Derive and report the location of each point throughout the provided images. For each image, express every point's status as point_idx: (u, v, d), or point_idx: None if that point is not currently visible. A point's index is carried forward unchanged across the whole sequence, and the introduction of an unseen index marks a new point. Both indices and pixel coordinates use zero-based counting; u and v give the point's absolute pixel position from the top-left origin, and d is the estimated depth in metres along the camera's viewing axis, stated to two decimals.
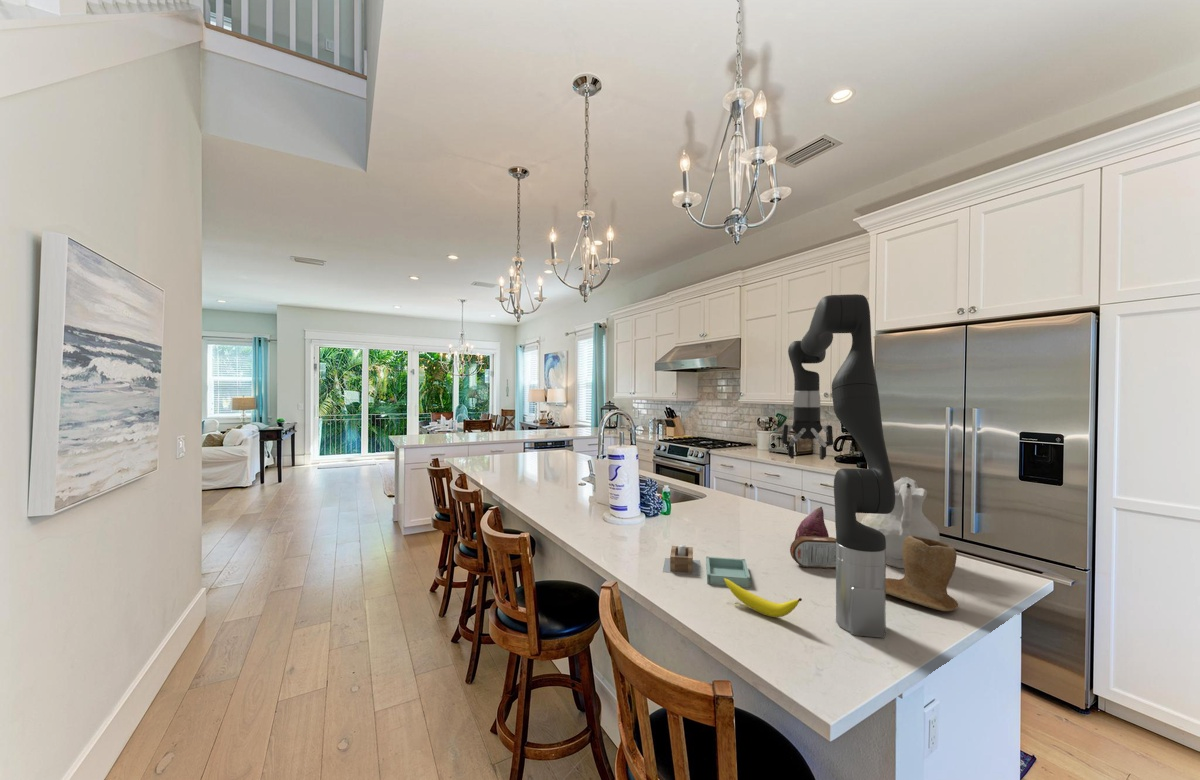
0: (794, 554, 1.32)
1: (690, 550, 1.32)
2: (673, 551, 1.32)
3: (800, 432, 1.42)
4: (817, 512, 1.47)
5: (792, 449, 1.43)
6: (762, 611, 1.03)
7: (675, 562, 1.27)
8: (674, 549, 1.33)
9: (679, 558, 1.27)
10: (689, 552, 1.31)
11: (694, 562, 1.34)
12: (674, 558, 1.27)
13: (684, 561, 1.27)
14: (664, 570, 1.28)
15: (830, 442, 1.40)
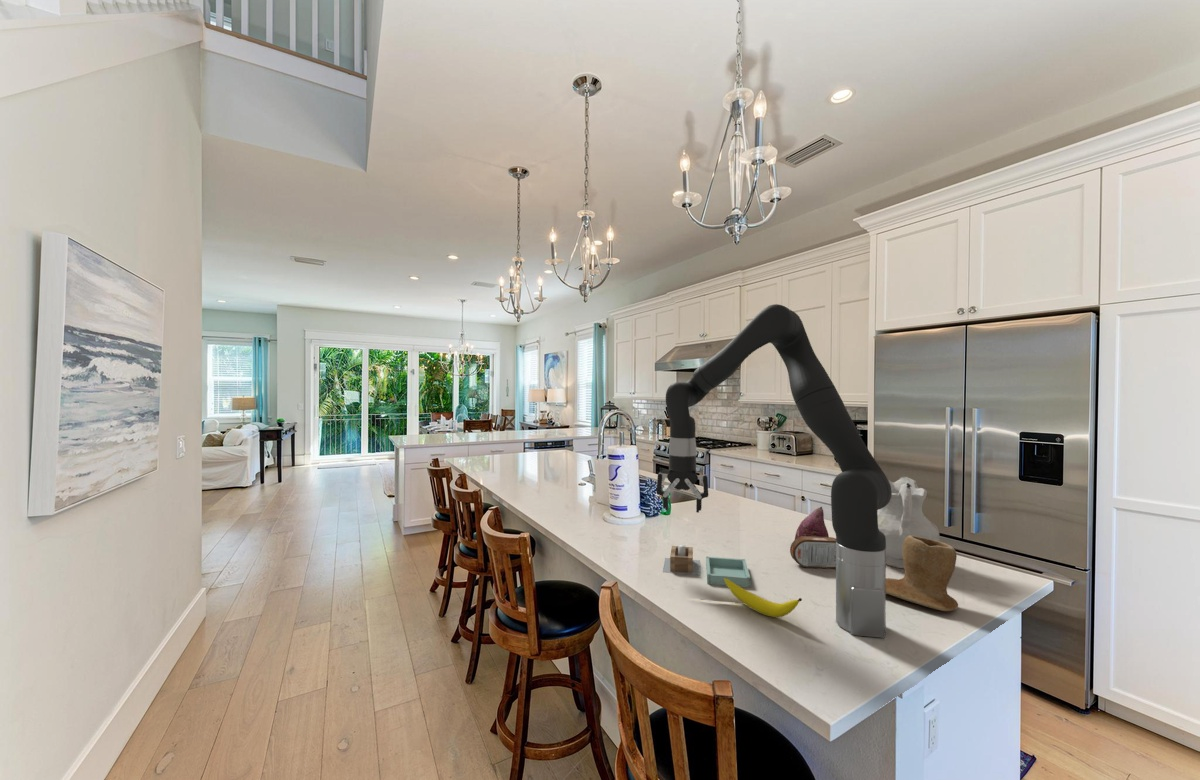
0: (794, 554, 1.32)
1: (690, 550, 1.32)
2: (673, 551, 1.32)
3: (674, 482, 1.30)
4: (817, 512, 1.47)
5: (666, 500, 1.31)
6: (762, 611, 1.03)
7: (675, 562, 1.27)
8: (674, 549, 1.33)
9: (679, 558, 1.27)
10: (689, 552, 1.31)
11: (694, 562, 1.34)
12: (674, 558, 1.27)
13: (684, 561, 1.27)
14: (664, 570, 1.28)
15: (705, 494, 1.29)
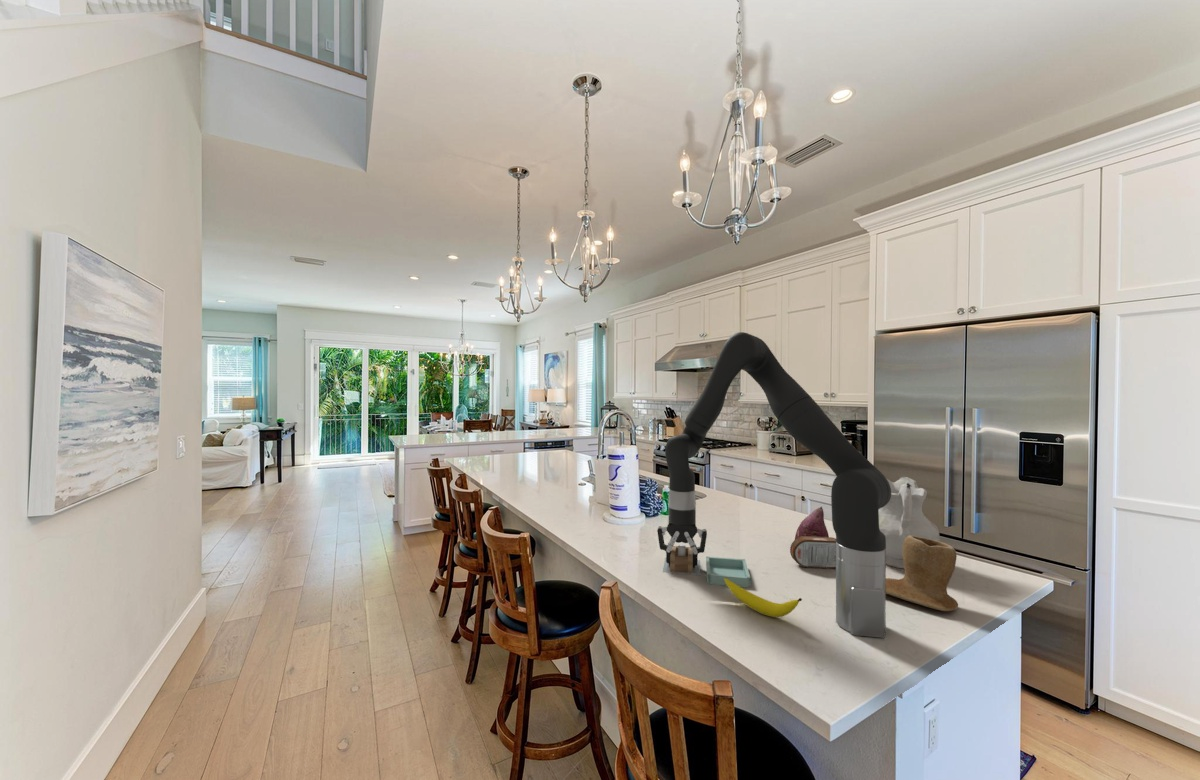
0: (794, 554, 1.32)
1: (690, 550, 1.32)
2: (673, 551, 1.32)
3: (674, 536, 1.30)
4: (818, 512, 1.47)
5: (669, 556, 1.31)
6: (762, 611, 1.03)
7: (675, 562, 1.27)
8: (674, 549, 1.33)
9: (679, 558, 1.27)
10: (689, 552, 1.31)
11: None
12: (674, 558, 1.27)
13: (684, 561, 1.27)
14: (664, 570, 1.28)
15: (701, 549, 1.29)
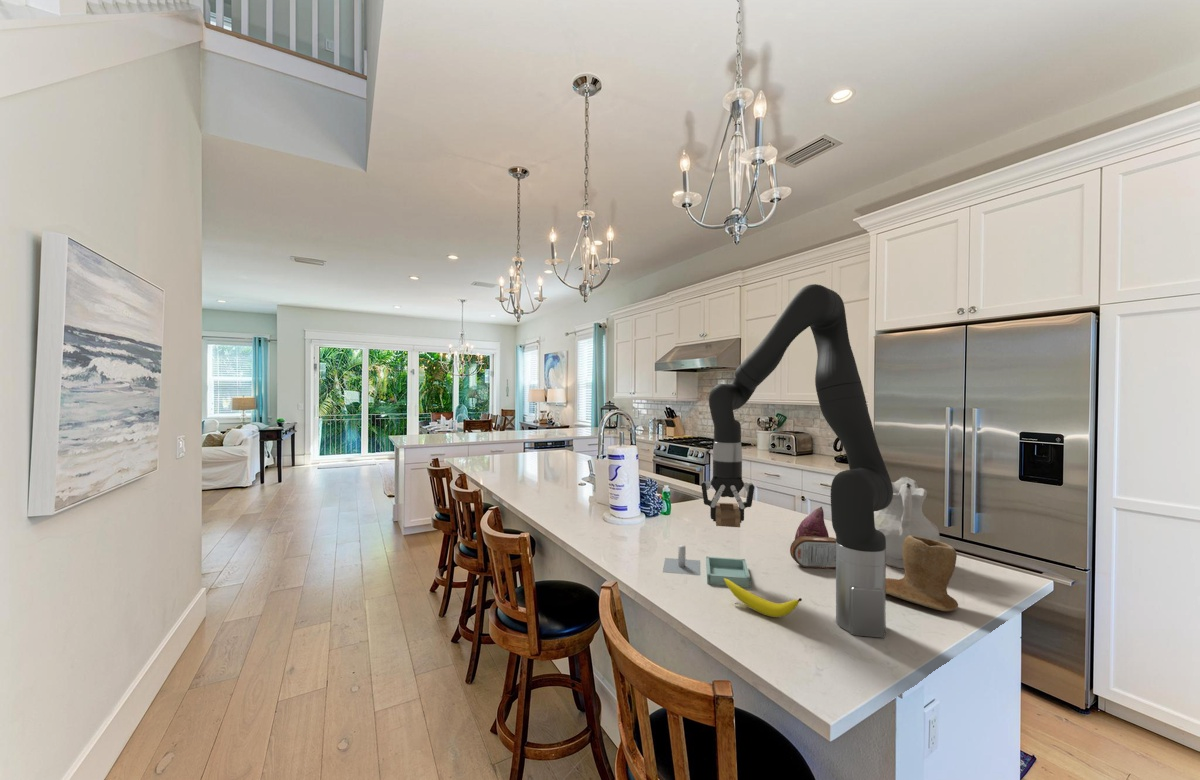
0: (794, 554, 1.32)
1: (735, 505, 1.26)
2: (717, 506, 1.25)
3: (719, 490, 1.24)
4: (818, 512, 1.47)
5: (714, 511, 1.25)
6: (762, 611, 1.03)
7: (722, 516, 1.21)
8: (718, 505, 1.27)
9: (726, 512, 1.21)
10: (735, 507, 1.24)
11: (694, 562, 1.34)
12: (721, 512, 1.21)
13: (731, 515, 1.20)
14: (664, 570, 1.28)
15: (748, 503, 1.23)
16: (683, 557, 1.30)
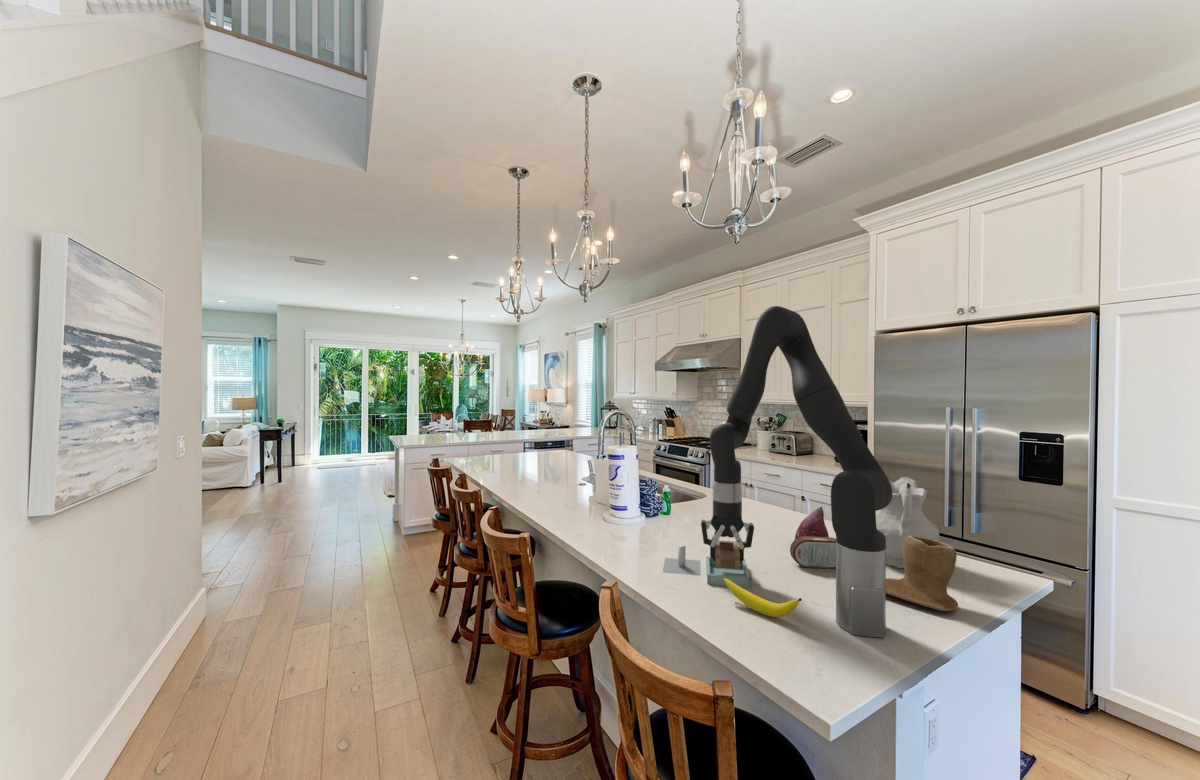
0: (794, 554, 1.32)
1: (735, 545, 1.26)
2: (717, 545, 1.26)
3: (719, 530, 1.24)
4: (818, 512, 1.47)
5: (714, 550, 1.25)
6: (762, 611, 1.03)
7: (721, 557, 1.21)
8: (718, 544, 1.27)
9: (725, 553, 1.21)
10: (735, 547, 1.25)
11: (694, 562, 1.34)
12: (720, 553, 1.21)
13: (731, 556, 1.21)
14: (664, 570, 1.28)
15: (748, 544, 1.23)
16: (683, 557, 1.30)
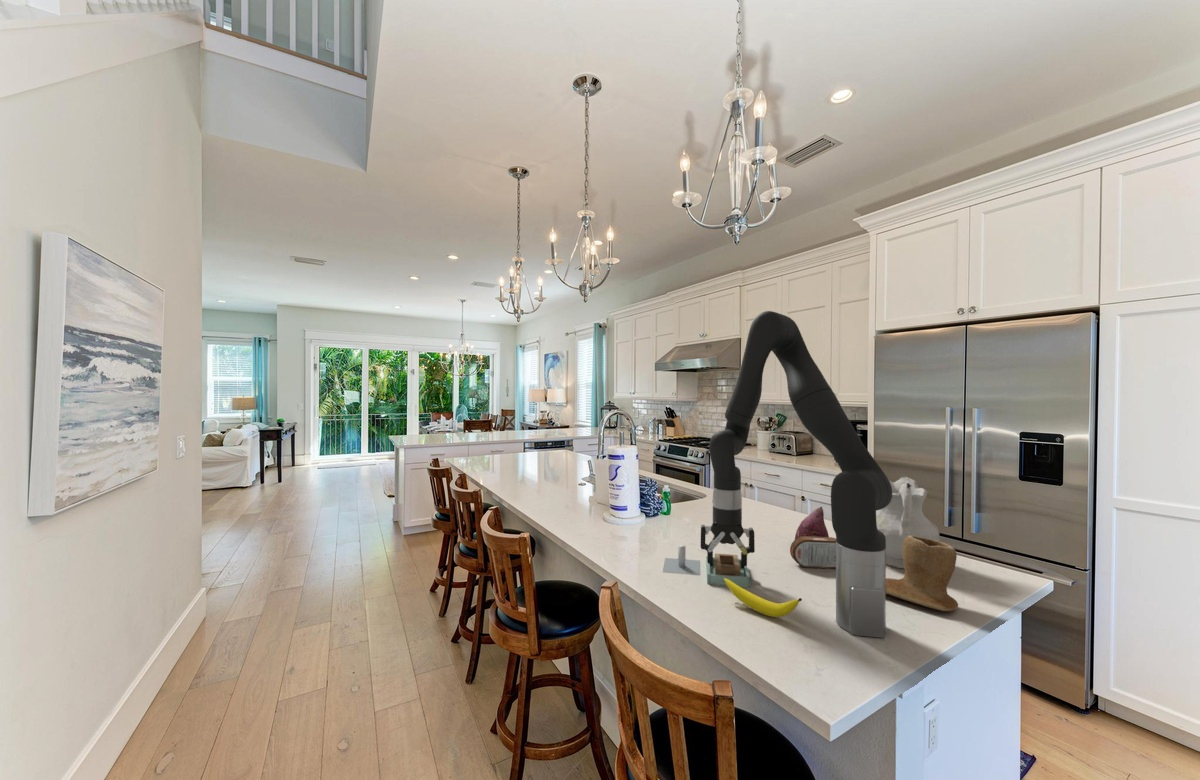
0: (794, 554, 1.32)
1: (735, 558, 1.26)
2: (717, 559, 1.25)
3: (719, 536, 1.24)
4: (817, 512, 1.47)
5: (711, 555, 1.25)
6: (762, 611, 1.03)
7: (722, 571, 1.21)
8: (718, 557, 1.27)
9: (726, 567, 1.21)
10: (735, 560, 1.24)
11: (694, 562, 1.34)
12: (720, 567, 1.21)
13: (731, 570, 1.20)
14: (664, 570, 1.28)
15: (751, 549, 1.22)
16: (683, 557, 1.30)
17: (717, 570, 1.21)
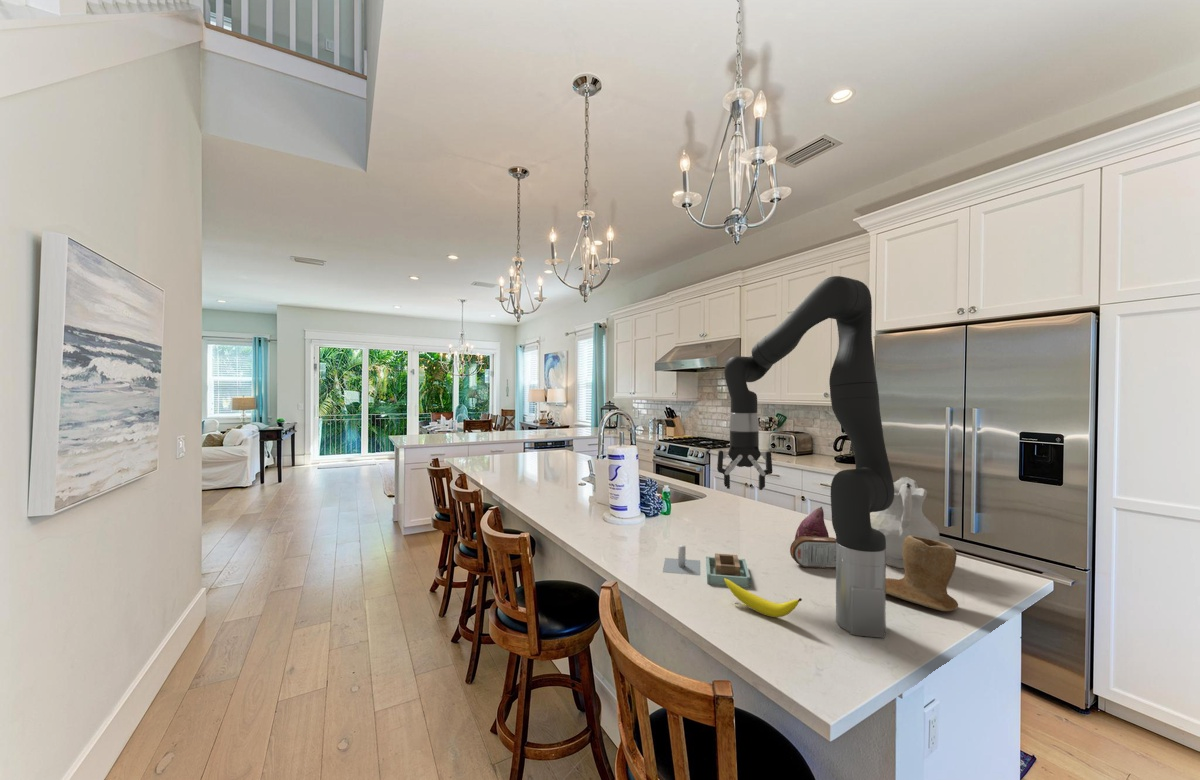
0: (794, 554, 1.32)
1: (735, 558, 1.26)
2: (717, 559, 1.25)
3: (736, 459, 1.26)
4: (818, 512, 1.47)
5: (728, 478, 1.27)
6: (762, 611, 1.03)
7: (722, 571, 1.21)
8: (718, 557, 1.27)
9: (726, 567, 1.21)
10: (735, 560, 1.24)
11: (694, 562, 1.34)
12: (720, 567, 1.21)
13: (731, 570, 1.20)
14: (664, 570, 1.28)
15: (769, 470, 1.25)
16: (683, 557, 1.30)
17: (717, 570, 1.21)
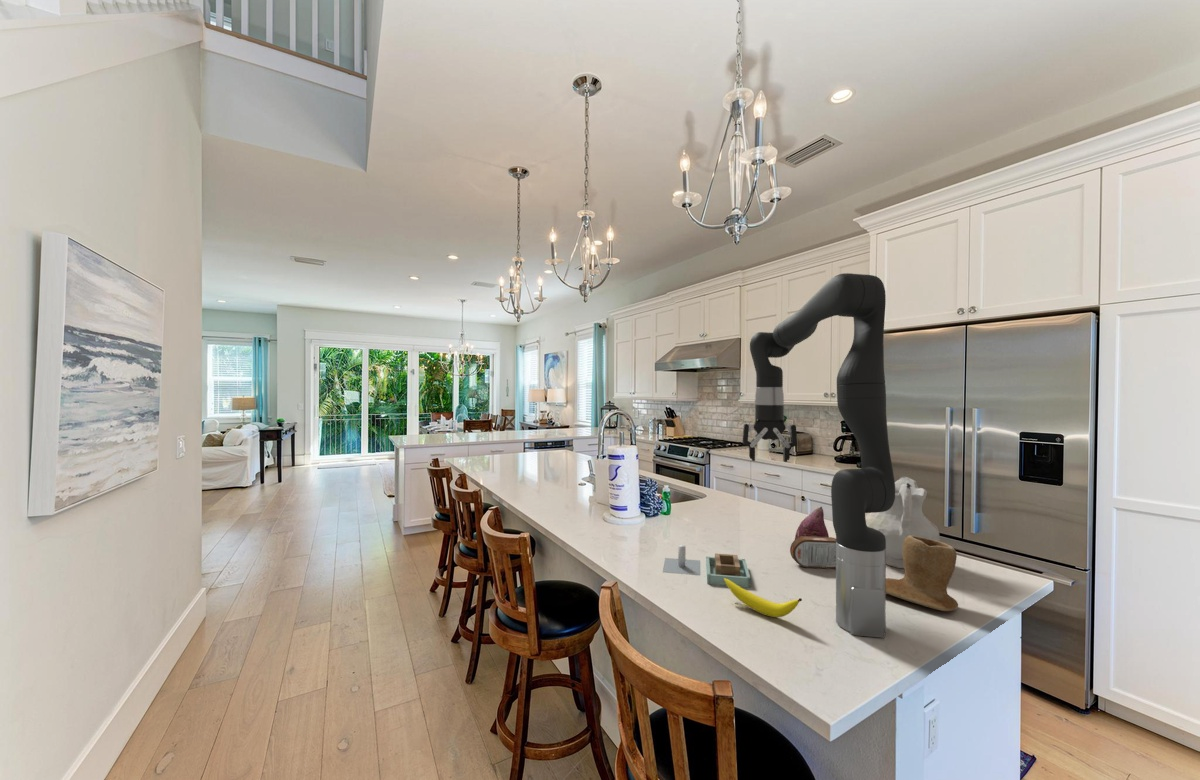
0: (794, 554, 1.32)
1: (735, 558, 1.26)
2: (717, 559, 1.25)
3: (762, 432, 1.30)
4: (818, 512, 1.47)
5: (753, 451, 1.31)
6: (762, 611, 1.03)
7: (722, 571, 1.21)
8: (718, 557, 1.27)
9: (726, 567, 1.21)
10: (735, 560, 1.24)
11: (694, 562, 1.34)
12: (720, 567, 1.21)
13: (731, 570, 1.20)
14: (664, 570, 1.28)
15: (794, 443, 1.29)
16: (683, 557, 1.30)
17: (717, 570, 1.21)
